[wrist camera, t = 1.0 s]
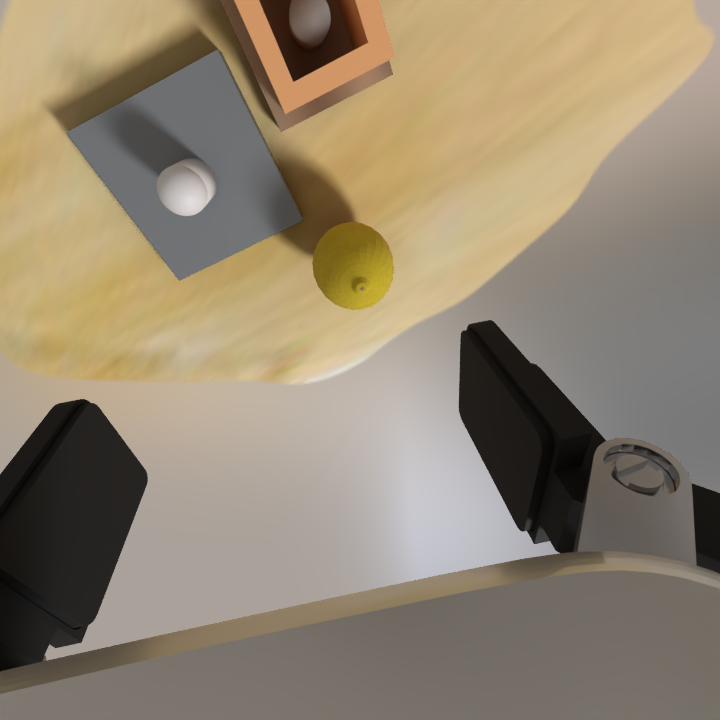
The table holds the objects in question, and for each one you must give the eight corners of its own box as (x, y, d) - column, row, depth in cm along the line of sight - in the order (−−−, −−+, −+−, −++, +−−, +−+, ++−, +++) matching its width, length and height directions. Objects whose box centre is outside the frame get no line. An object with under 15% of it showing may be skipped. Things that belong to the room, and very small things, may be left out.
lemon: (305, 276, 30) (310, 323, 24) (315, 204, 27) (324, 235, 21) (372, 285, 31) (393, 332, 25) (388, 217, 29) (417, 250, 22)
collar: (334, -76, 19) (344, -121, 15) (376, 65, 22) (394, 57, 18) (228, -17, 19) (213, -46, 16) (286, 113, 23) (285, 114, 19)
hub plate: (221, 52, 22) (200, 36, 17) (302, 215, 28) (305, 241, 22) (77, 131, 23) (15, 138, 18) (183, 273, 28) (160, 310, 23)
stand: (338, -92, 19) (349, -139, 16) (387, 76, 24) (405, 70, 20) (211, -20, 20) (194, -49, 16) (281, 130, 24) (279, 134, 21)
